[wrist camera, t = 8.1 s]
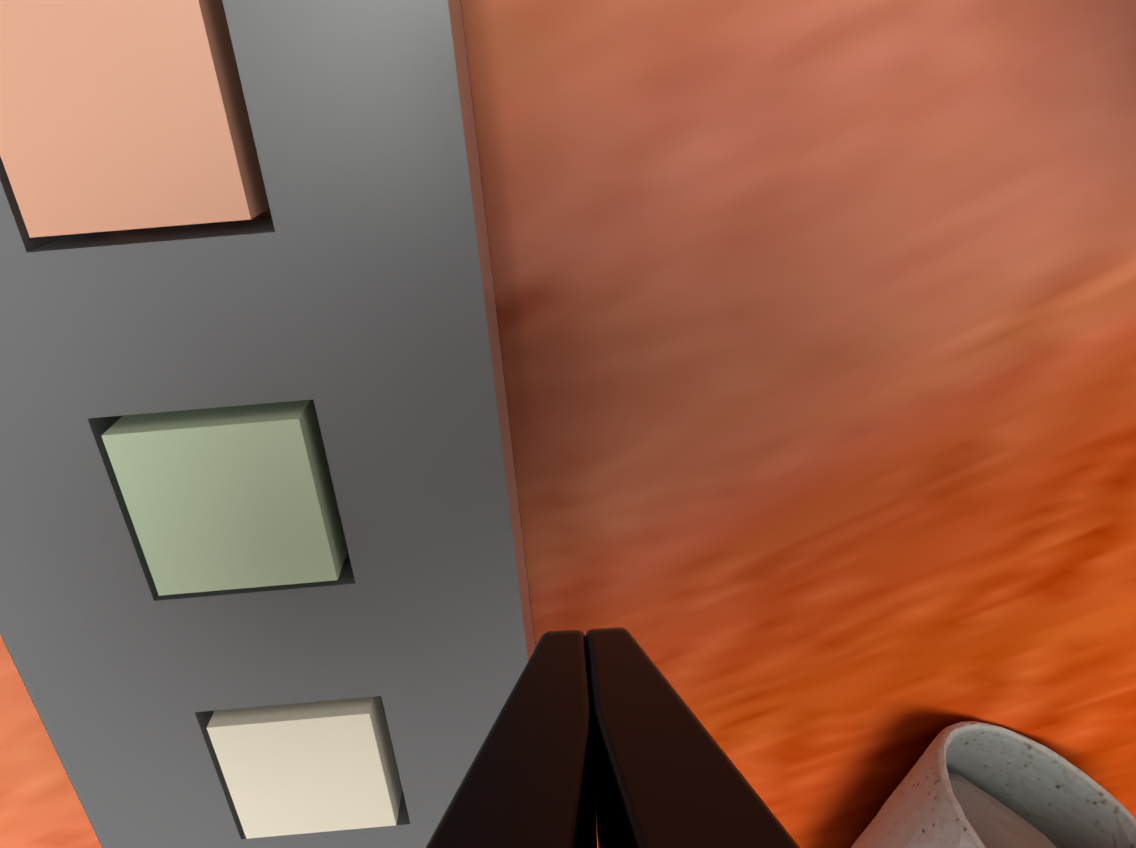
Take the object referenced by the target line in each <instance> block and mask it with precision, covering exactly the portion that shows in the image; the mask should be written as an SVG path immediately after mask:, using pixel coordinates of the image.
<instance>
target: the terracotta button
mask: <svg viewBox="0 0 1136 848" xmlns="http://www.w3.org/2000/svg"><path fill="white" fill-rule="evenodd" d="M0 156H1V159H2V162H3V165H4V167H5V170H6V173H7V176H8V178H9V181H10V184H11V187H12V190H13V192H14V195H15V198H16V201H17V203H18V206H19V209H20V212H21V215H22V217H23V220H24V223H25V226H26V228H27V231H28V234H29V237H30V238H33V237H45V236H57V235H69V234H81V233H93V232H105V231H118V230H130V229H142V228H154V227H166V226H178V225H190V224H202V223H215V222H227V221H239V220H251V219H253V218H254V217H256V216H257V215H259V214H261V213H262V212H264V211H266V210H267V209H269V208H270V207H269V203H268V198H267V194H266V190H265V185H264V181H263V177H262V172H261V168H260V163H259V159H258V155H257V150H256V146H255V142H254V137H253V133H252V128H251V124H250V120H249V115H248V111H247V107H246V102H245V98H244V94H243V89H242V85H241V80H240V76H239V72H238V67H237V63H236V59H235V54H234V50H233V45H232V41H231V37H230V32H229V28H228V24H227V19H226V15H225V10H224V6H223V2H222V0H0Z"/></svg>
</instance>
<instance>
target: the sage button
mask: <svg viewBox="0 0 1136 848" xmlns="http://www.w3.org/2000/svg"><path fill="white" fill-rule="evenodd" d="M101 436H102V439H103V442H104V445H105V448H106V450H107V453H108V456H109V459H110V461H111V464H112V467H113V470H114V473H115V475H116V478H117V481H118V484H119V486H120V489H121V492H122V495H123V497H124V500H125V503H126V506H127V509H128V511H129V514H130V517H131V520H132V522H133V525H134V528H135V531H136V534H137V536H138V539H139V542H140V545H141V547H142V550H143V553H144V556H145V558H146V561H147V564H148V567H149V570H150V572H151V575H152V578H153V581H154V583H155V586H156V589H157V592H158V595H159V596H161V595H172V594H184V593H195V592H207V591H219V590H230V589H242V588H253V587H265V586H276V585H288V584H300V583H311V582H323V581H334V580H338V578H339V575H340V572H341V569H342V566H343V564H344V561H345V558H346V555H347V553H348V548H347V544H346V540H345V535H344V531H343V527H342V522H341V518H340V513H339V509H338V505H337V500H336V496H335V492H334V487H333V483H332V478H331V474H330V470H329V465H328V461H327V457H326V452H325V448H324V443H323V439H322V435H321V430H320V426H319V422H318V417H317V413H316V408H315V404H314V400H301V401H289V402H277V403H265V404H253V405H241V406H230V407H218V408H206V409H194V410H182V411H170V412H159V413H147V414H135V415H123V416H122V417H121V418H120V419H119V420H118V421H117V422H116V423H115V424H113V425H112V426H111V427H110V428H109V429H108V430H107V431H106V432H105V433H104V434H102V435H101Z"/></svg>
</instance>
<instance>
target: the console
mask: <svg viewBox="0 0 1136 848" xmlns="http://www.w3.org/2000/svg"><path fill="white" fill-rule="evenodd" d="M222 2H223V6H224V10H225V15H226V19H227V24H228V28H229V32H230V37H231V41H232V45H233V50H234V54H235V59H236V63H237V67H238V72H239V76H240V80H241V85H242V89H243V94H244V98H245V102H246V107H247V111H248V115H249V120H250V124H251V128H252V133H253V137H254V142H255V146H256V150H257V155H258V159H259V163H260V168H261V172H262V177H263V181H264V185H265V190H266V194H267V198H268V203H269V207H270V208H269V209H267V210H266V211H264V212H262V213H261V214H259V215H257V216H256V217H254V218H253V219H251V220H239V221H227V222H215V223H202V224H190V225H178V226H166V227H154V228H142V229H130V230H118V231H105V232H93V233H81V234H69V235H57V236H45V237H33V238H30V237H29V234H28V231H27V228H26V226H25V223H24V220H23V217H22V215H21V212H20V209H19V206H18V203H17V201H16V198H15V195H14V192H13V190H12V187H11V184H10V181H9V178H8V176H7V173H6V170H5V167H4V165H3V162H2V159H1V156H0V635H1V637H2V639H3V641H4V643H5V645H6V647H7V649H8V651H9V653H10V655H11V658H12V660H13V662H14V664H15V666H16V668H17V670H18V672H19V674H20V676H21V679H22V681H23V683H24V685H25V687H26V689H27V691H28V693H29V695H30V697H31V699H32V702H33V704H34V706H35V708H36V710H37V712H38V714H39V716H40V718H41V720H42V723H43V725H44V727H45V729H46V731H47V733H48V735H49V737H50V739H51V741H52V743H53V746H54V748H55V750H56V752H57V754H58V756H59V758H60V760H61V762H62V764H63V766H64V769H65V771H66V773H67V775H68V777H69V779H70V781H71V783H72V785H73V787H74V790H75V792H76V794H77V796H78V798H79V800H80V802H81V804H82V806H83V808H84V810H85V813H86V815H87V817H88V819H89V821H90V823H91V825H92V827H93V829H94V831H95V833H96V836H97V838H98V840H99V842H100V844H101V846H102V848H425V847H426V845H427V843H428V842H429V840H430V838H431V836H432V834H433V832H434V831H435V829H436V827H437V825H438V823H439V822H440V820H441V818H442V816H443V814H444V813H445V811H446V809H447V807H448V805H449V804H450V802H451V800H452V798H453V796H454V795H455V793H456V791H457V789H458V787H459V786H460V784H461V782H462V780H463V778H464V776H465V775H466V773H467V771H468V769H469V767H470V766H471V764H472V762H473V760H474V758H475V757H476V755H477V753H478V751H479V749H480V748H481V746H482V744H483V742H484V740H485V739H486V737H487V735H488V733H489V731H490V730H491V728H492V726H493V724H494V722H495V721H496V719H497V717H498V715H499V713H500V711H501V710H502V708H503V706H504V704H505V702H506V701H507V699H508V697H509V695H510V693H511V692H512V690H513V688H514V686H515V684H516V683H517V681H518V679H519V677H520V675H521V674H522V672H523V670H524V668H525V666H526V665H527V663H528V661H529V659H530V657H531V655H532V654H533V652H534V650H535V640H534V631H533V623H532V614H531V605H530V597H529V588H528V579H527V571H526V562H525V554H524V545H523V536H522V528H521V519H520V510H519V502H518V493H517V484H516V476H515V467H514V458H513V450H512V441H511V432H510V424H509V415H508V406H507V398H506V389H505V380H504V372H503V363H502V354H501V346H500V337H499V328H498V320H497V311H496V302H495V294H494V285H493V276H492V268H491V259H490V250H489V242H488V233H487V224H486V216H485V207H484V199H483V190H482V181H481V173H480V164H479V155H478V147H477V138H476V129H475V121H474V112H473V103H472V95H471V86H470V77H469V69H468V60H467V51H466V43H465V34H464V25H463V17H462V8H461V0H222ZM301 400H314V404H315V408H316V413H317V417H318V422H319V426H320V430H321V435H322V439H323V443H324V448H325V452H326V457H327V461H328V465H329V470H330V474H331V478H332V483H333V487H334V492H335V496H336V500H337V505H338V509H339V513H340V518H341V522H342V527H343V531H344V535H345V540H346V544H347V548H348V553H347V555H346V558H345V561H344V564H343V566H342V569H341V572H340V575H339V578H338V580H334V581H323V582H311V583H300V584H288V585H276V586H265V587H253V588H242V589H230V590H219V591H207V592H195V593H184V594H172V595H161V596H159V595H158V592H157V589H156V586H155V583H154V581H153V578H152V575H151V572H150V570H149V567H148V564H147V561H146V558H145V556H144V553H143V550H142V547H141V545H140V542H139V539H138V536H137V534H136V531H135V528H134V525H133V522H132V520H131V517H130V514H129V511H128V509H127V506H126V503H125V500H124V497H123V495H122V492H121V489H120V486H119V484H118V481H117V478H116V475H115V473H114V470H113V467H112V464H111V461H110V459H109V456H108V453H107V450H106V448H105V445H104V442H103V439H102V436H101V435H102V434H104V433H105V432H106V431H107V430H108V429H109V428H110V427H111V426H112V425H113V424H115V423H116V422H117V421H118V420H119V419H120V418H121V417H122V416H123V415H135V414H147V413H159V412H170V411H182V410H194V409H206V408H218V407H230V406H241V405H253V404H265V403H277V402H289V401H301ZM375 696H381V697H382V701H383V706H384V710H385V715H386V719H387V723H388V728H389V732H390V736H391V741H392V745H393V750H394V754H395V758H396V763H397V767H398V771H399V776H400V780H401V785H402V795H401V801H400V807H399V813H398V818H397V824H396V825H395V826H384V827H373V828H362V829H350V830H339V831H328V832H317V833H305V834H294V835H283V836H272V837H261V838H249V839H246V836H245V833H244V831H243V828H242V825H241V822H240V820H239V817H238V814H237V811H236V809H235V806H234V803H233V800H232V797H231V795H230V792H229V789H228V786H227V784H226V781H225V778H224V775H223V772H222V770H221V767H220V764H219V761H218V759H217V756H216V753H215V750H214V748H213V745H212V742H211V739H210V736H209V734H208V731H207V726H208V724H209V721H210V719H211V717H212V715H213V713H214V711H215V710H227V709H238V708H250V707H261V706H272V705H284V704H295V703H307V702H318V701H329V700H341V699H352V698H364V697H375Z"/></svg>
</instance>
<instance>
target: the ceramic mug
mask: <svg viewBox="0 0 1136 848" xmlns="http://www.w3.org/2000/svg"><path fill="white" fill-rule="evenodd" d="M851 848H1136V819H1135V818H1134V817H1133V816H1132V814H1131V813H1130V812H1129V811H1128V810H1127V809H1126V808H1125V807H1124V806H1123V805H1122V804H1121V803H1120V802H1119V801H1118V800H1117V799H1115V798H1114V797H1113V796H1112V795H1111V794H1110V793H1109V792H1107V791H1106V790H1105V789H1104V788H1103V787H1101V786H1100V785H1099V784H1097V783H1096V782H1095V781H1094V780H1093V779H1091V778H1090V777H1089V776H1088V775H1087V774H1085V773H1084V772H1083V771H1082V770H1080V769H1079V768H1077V767H1076V766H1074V765H1072V764H1071V763H1070V762H1069V761H1067V760H1066V759H1064V758H1063V757H1062V756H1060V755H1059V754H1057V753H1056V752H1054V751H1052V750H1051V749H1049V748H1047V747H1046V746H1044V745H1042V744H1040V743H1038V742H1036V741H1034V740H1032V739H1030V738H1028V737H1026V736H1024V735H1021V734H1019V733H1016V732H1014V731H1011V730H1008V729H1006V728H1003V727H1001V726H997V725H993V724H989V723H984V722H978V721H964V722H959V723H956V724H953V725H950V726H948V727H946V728H944V729H943V730H942V731H941V732H940V733H939V734H938V735H937V736H936V738H935V739H934V740H933V741H932V743H931V744H930V745H929V746H928V748H927V749H926V750H925V752H924V753H923V754H922V756H921V757H920V758H919V760H918V761H917V762H916V764H915V765H914V766H913V768H912V769H911V770H910V771H909V773H908V774H907V775H906V776H905V778H904V779H903V780H902V782H901V783H900V784H899V785H898V787H897V788H896V789H895V790H894V792H893V793H892V794H891V795H890V797H889V798H888V799H887V801H886V802H885V803H884V805H883V806H882V808H881V809H880V811H879V812H878V814H877V815H876V816H875V818H874V819H873V820H872V821H871V823H870V824H869V825H868V826H867V828H866V829H865V830H864V831H863V832H862V834H861V835H860V836H859V837H858V839H857V840H856V841H855V843H854V844H853V845H852V846H851Z"/></svg>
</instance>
